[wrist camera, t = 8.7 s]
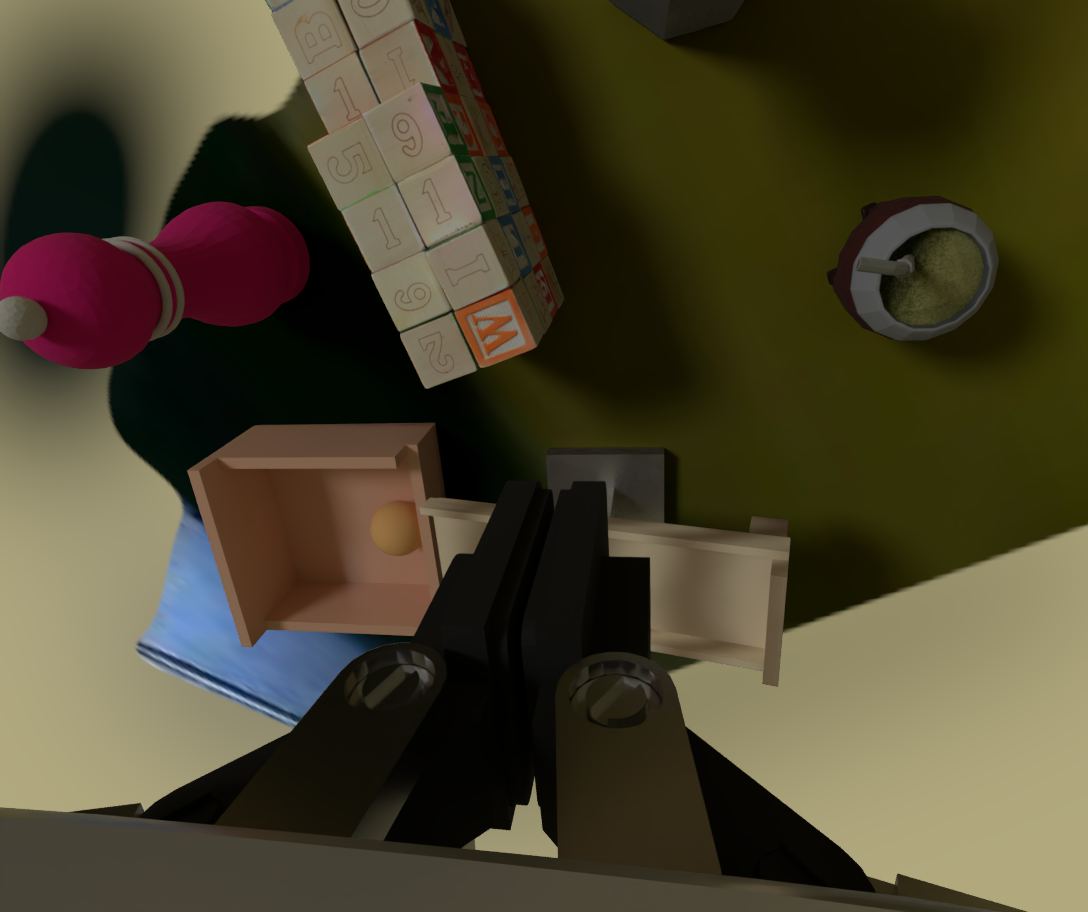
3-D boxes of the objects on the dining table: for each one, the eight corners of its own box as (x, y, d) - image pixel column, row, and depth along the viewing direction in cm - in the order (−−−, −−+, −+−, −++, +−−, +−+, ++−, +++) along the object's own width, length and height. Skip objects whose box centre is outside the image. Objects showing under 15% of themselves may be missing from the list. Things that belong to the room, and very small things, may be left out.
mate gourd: (961, 287, 39) (1122, 357, 26) (823, 340, 41) (904, 430, 28) (929, 161, 37) (1088, 164, 23) (785, 224, 39) (853, 260, 26)
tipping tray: (792, 512, 38) (788, 568, 33) (774, 724, 45) (768, 798, 40) (451, 477, 46) (405, 519, 41) (477, 662, 52) (440, 718, 47)
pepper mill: (230, 311, 47) (-40, 409, 29) (203, 200, 44) (-115, 231, 26) (327, 309, 46) (110, 409, 27) (306, 194, 43) (48, 222, 25)
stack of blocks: (326, -17, 38) (188, -89, 27) (422, -75, 36) (317, -178, 25) (481, 334, 45) (423, 393, 34) (568, 300, 43) (537, 351, 32)
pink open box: (435, 422, 48) (395, 470, 40) (459, 588, 53) (428, 655, 46) (255, 425, 50) (187, 470, 43) (296, 583, 56) (242, 646, 48)
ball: (432, 493, 49) (404, 519, 45) (440, 541, 50) (413, 570, 47) (385, 488, 50) (354, 513, 47) (394, 535, 52) (364, 562, 48)
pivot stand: (663, 447, 46) (664, 490, 40) (664, 571, 50) (664, 626, 44) (548, 448, 47) (532, 489, 41) (557, 568, 51) (544, 622, 45)
